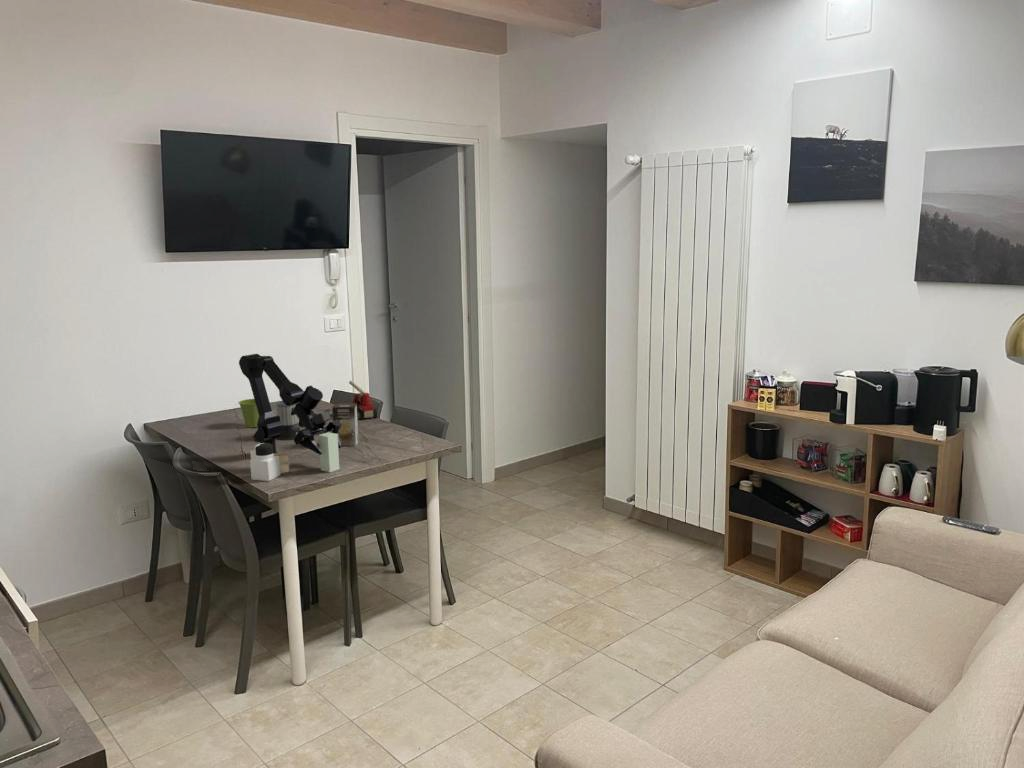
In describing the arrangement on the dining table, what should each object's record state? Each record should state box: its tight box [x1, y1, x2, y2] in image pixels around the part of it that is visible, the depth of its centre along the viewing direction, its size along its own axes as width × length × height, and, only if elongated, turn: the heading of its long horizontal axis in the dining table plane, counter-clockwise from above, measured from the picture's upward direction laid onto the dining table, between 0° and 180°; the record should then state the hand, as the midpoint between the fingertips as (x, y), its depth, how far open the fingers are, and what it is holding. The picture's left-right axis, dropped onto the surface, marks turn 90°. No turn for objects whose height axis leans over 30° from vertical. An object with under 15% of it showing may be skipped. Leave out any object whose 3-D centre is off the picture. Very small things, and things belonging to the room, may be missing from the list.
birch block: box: [273, 451, 290, 474], centre depth 273 cm, size 5×5×6 cm
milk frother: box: [275, 400, 302, 441], centre depth 320 cm, size 14×16×15 cm
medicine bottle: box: [249, 443, 281, 482], centre depth 265 cm, size 7×7×12 cm
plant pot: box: [237, 398, 259, 429], centre depth 337 cm, size 12×12×11 cm
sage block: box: [318, 432, 340, 473], centre depth 273 cm, size 5×5×13 cm
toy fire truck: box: [348, 380, 378, 421], centre depth 352 cm, size 11×16×18 cm
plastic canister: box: [249, 448, 256, 460], centre depth 275 cm, size 5×5×7 cm
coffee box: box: [331, 403, 359, 447], centre depth 306 cm, size 9×6×16 cm
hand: (330, 450), depth 273 cm, fingers open, 9 cm apart
